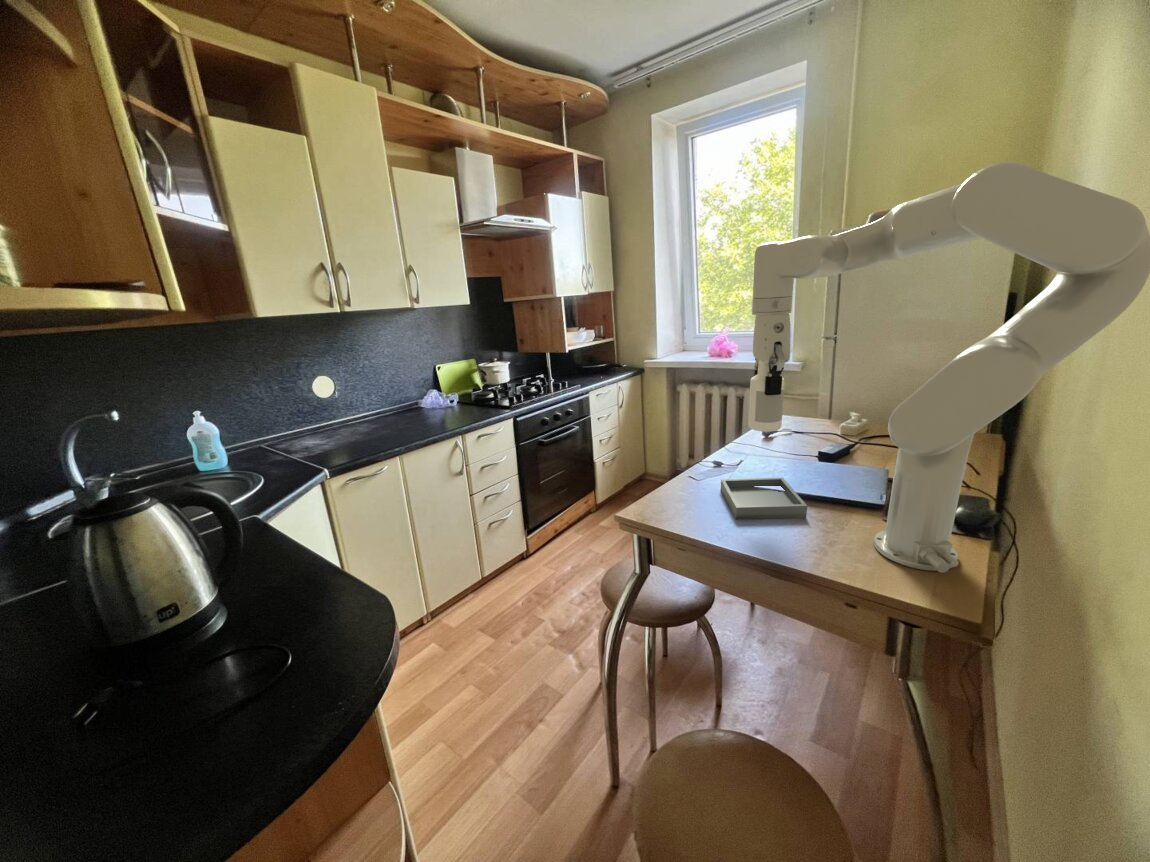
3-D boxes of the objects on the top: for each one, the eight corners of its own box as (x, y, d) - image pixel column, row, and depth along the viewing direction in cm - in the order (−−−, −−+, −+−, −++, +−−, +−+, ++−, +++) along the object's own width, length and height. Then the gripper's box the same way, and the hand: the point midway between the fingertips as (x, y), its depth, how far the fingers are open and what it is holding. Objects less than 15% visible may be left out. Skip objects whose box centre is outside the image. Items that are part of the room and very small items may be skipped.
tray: (806, 518, 98) (807, 505, 97) (735, 519, 100) (736, 507, 99) (781, 488, 113) (782, 477, 112) (720, 490, 114) (721, 479, 113)
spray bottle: (767, 434, 96) (772, 349, 91) (741, 427, 102) (745, 347, 96) (788, 427, 99) (794, 345, 94) (761, 421, 105) (765, 343, 100)
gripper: (808, 307, 84) (800, 399, 89) (776, 303, 100) (771, 381, 106) (766, 309, 85) (761, 401, 90) (741, 305, 101) (738, 383, 107)
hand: (766, 390), depth 98 cm, fingers closed on spray bottle, 6 cm apart
